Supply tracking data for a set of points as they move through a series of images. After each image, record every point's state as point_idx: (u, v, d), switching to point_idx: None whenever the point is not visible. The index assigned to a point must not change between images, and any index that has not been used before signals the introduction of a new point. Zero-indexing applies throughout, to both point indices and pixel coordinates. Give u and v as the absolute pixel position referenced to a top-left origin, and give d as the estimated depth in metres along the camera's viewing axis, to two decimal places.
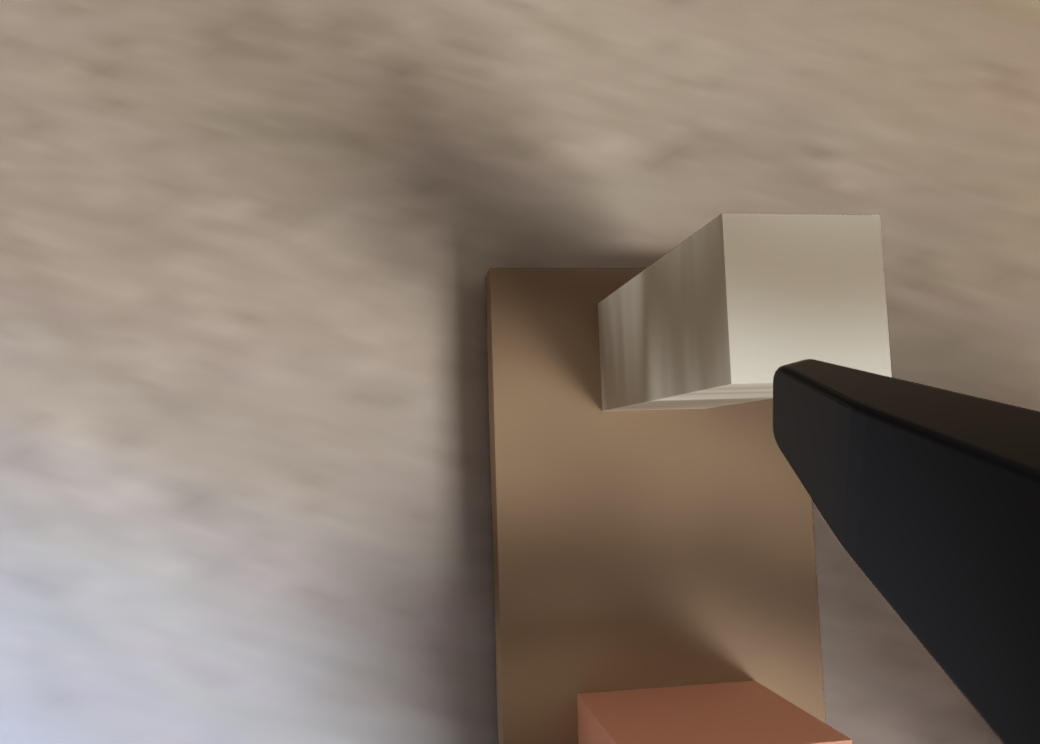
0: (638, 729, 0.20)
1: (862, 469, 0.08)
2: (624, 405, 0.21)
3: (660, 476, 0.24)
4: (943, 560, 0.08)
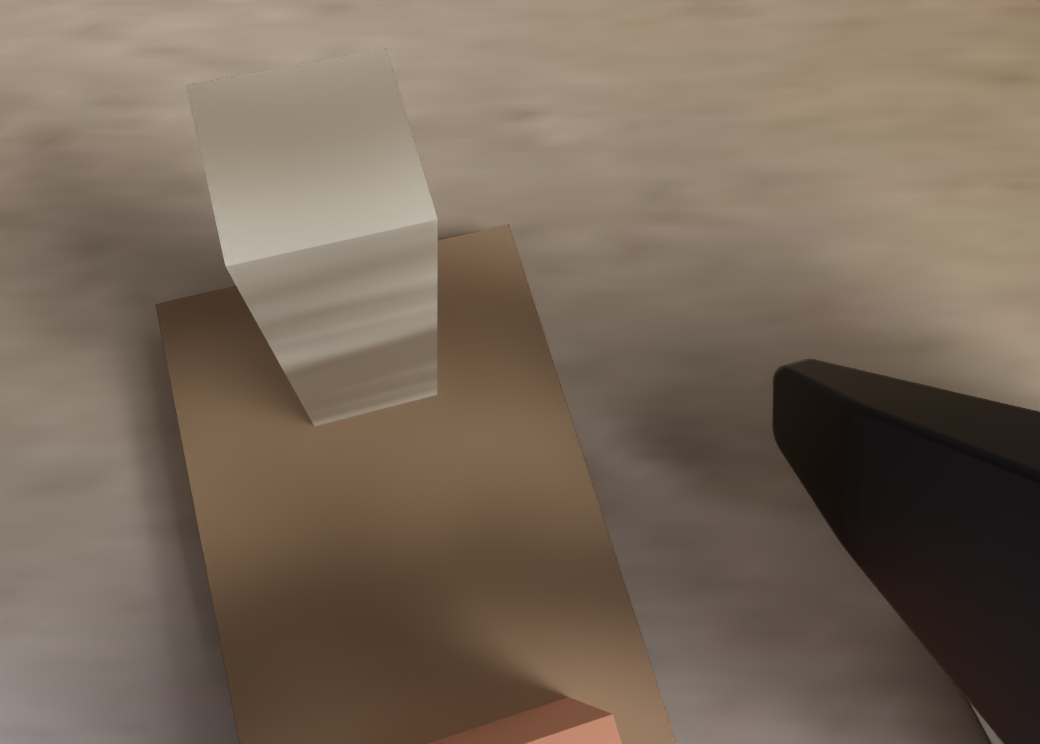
0: None
1: (862, 469, 0.08)
2: (300, 399, 0.18)
3: (399, 482, 0.20)
4: (943, 560, 0.08)
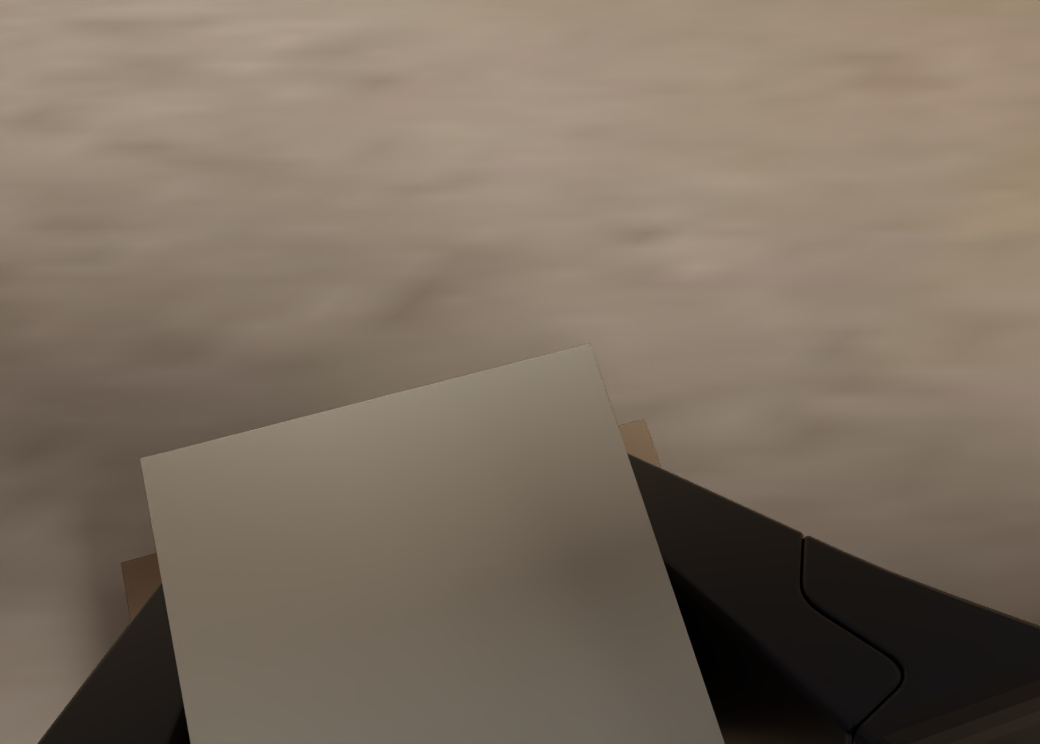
0: None
1: None
2: None
3: None
4: None
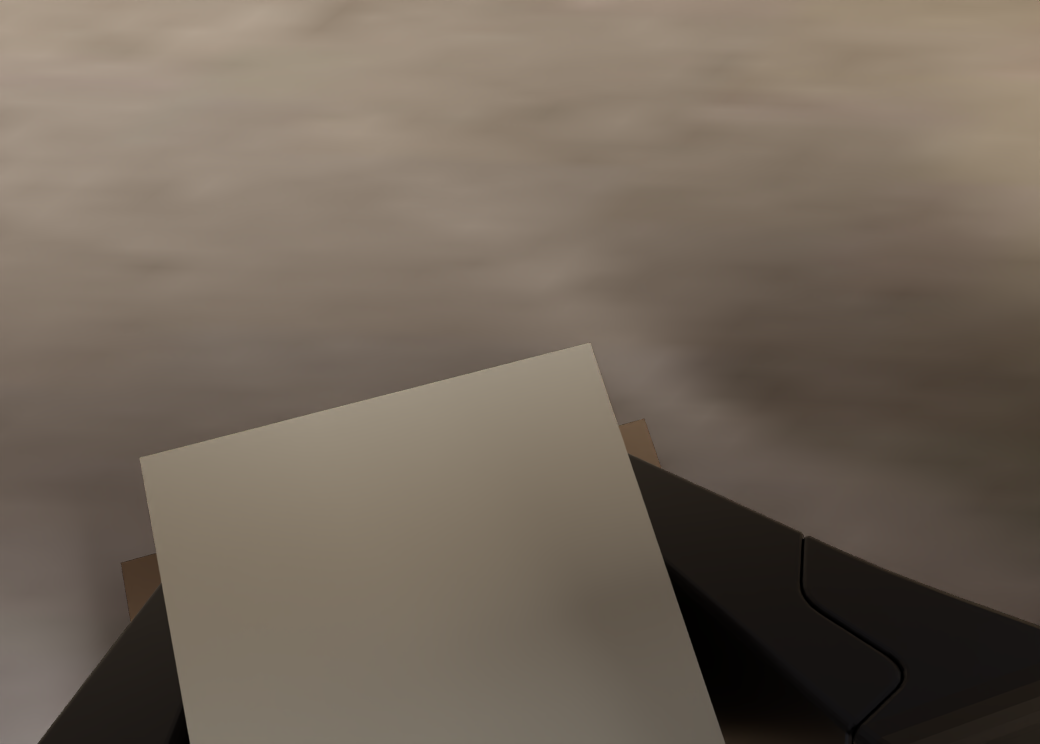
0: None
1: None
2: None
3: None
4: None
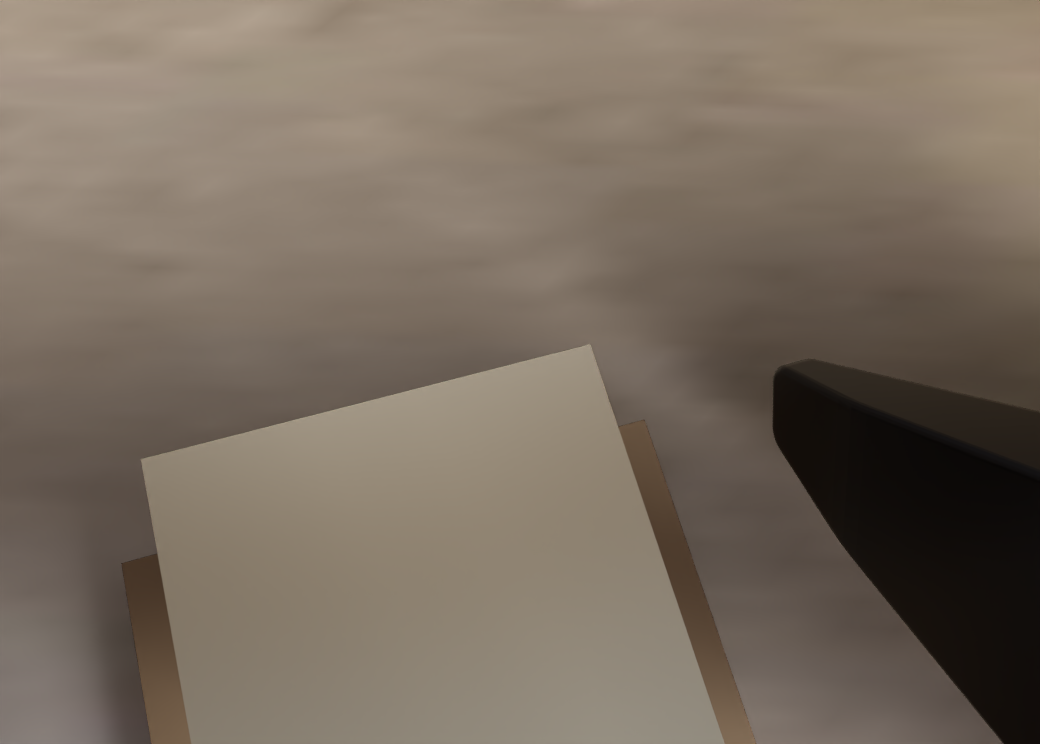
0: None
1: (862, 469, 0.08)
2: None
3: None
4: (943, 560, 0.08)
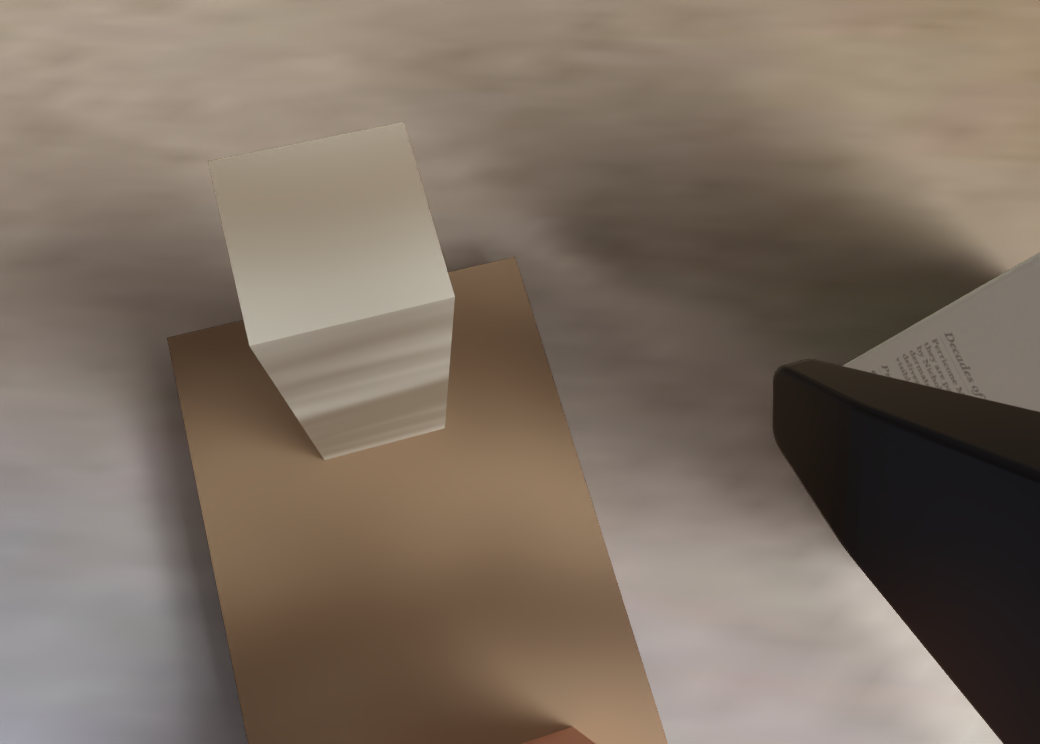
0: None
1: (862, 469, 0.08)
2: (312, 440, 0.19)
3: (407, 516, 0.20)
4: (943, 560, 0.08)
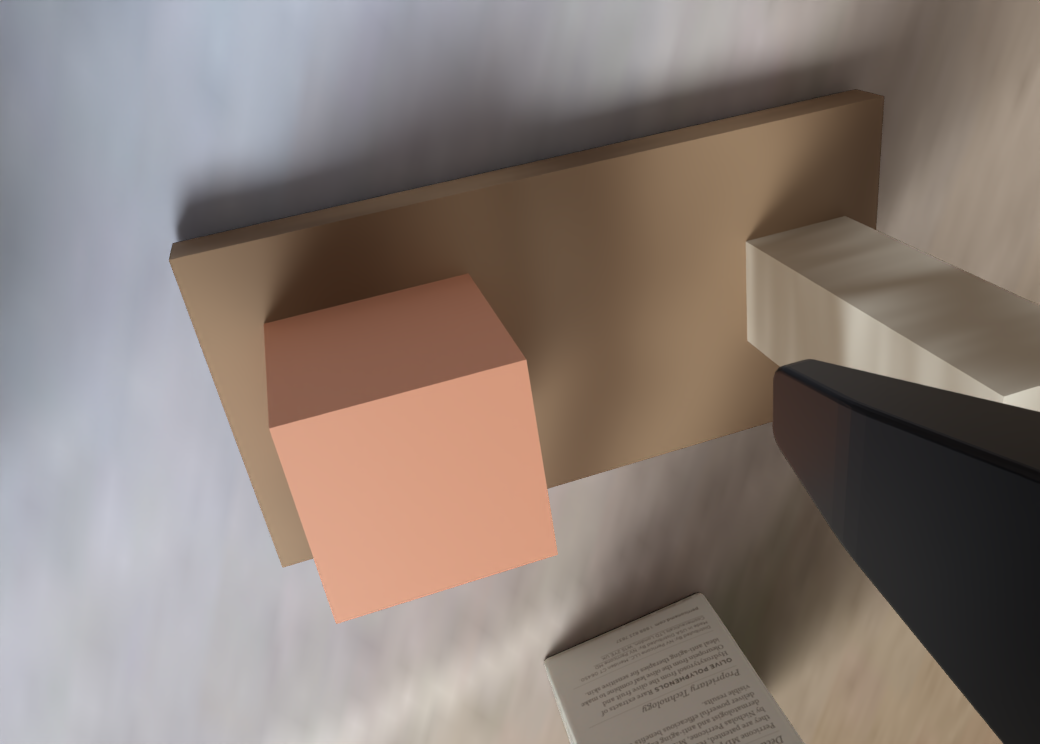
0: None
1: (862, 469, 0.08)
2: (792, 269, 0.21)
3: (684, 311, 0.23)
4: (943, 560, 0.08)
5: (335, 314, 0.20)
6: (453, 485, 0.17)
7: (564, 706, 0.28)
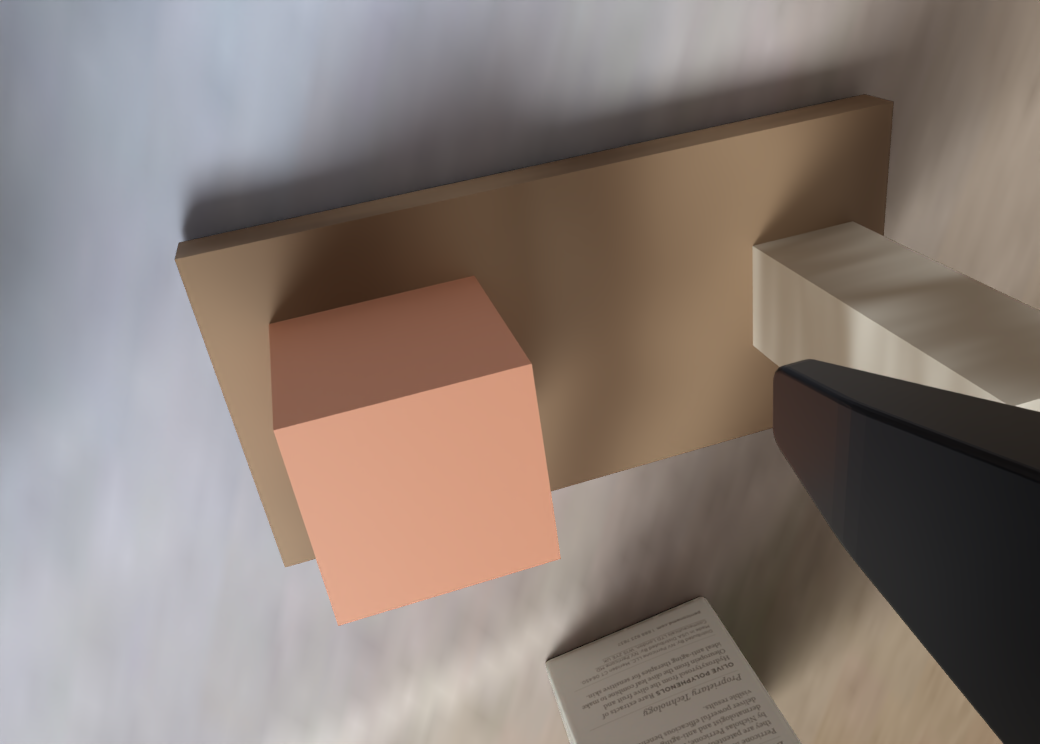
0: None
1: (862, 469, 0.08)
2: (799, 274, 0.21)
3: (690, 315, 0.23)
4: (943, 560, 0.08)
5: (340, 316, 0.20)
6: (457, 488, 0.17)
7: (565, 709, 0.28)
